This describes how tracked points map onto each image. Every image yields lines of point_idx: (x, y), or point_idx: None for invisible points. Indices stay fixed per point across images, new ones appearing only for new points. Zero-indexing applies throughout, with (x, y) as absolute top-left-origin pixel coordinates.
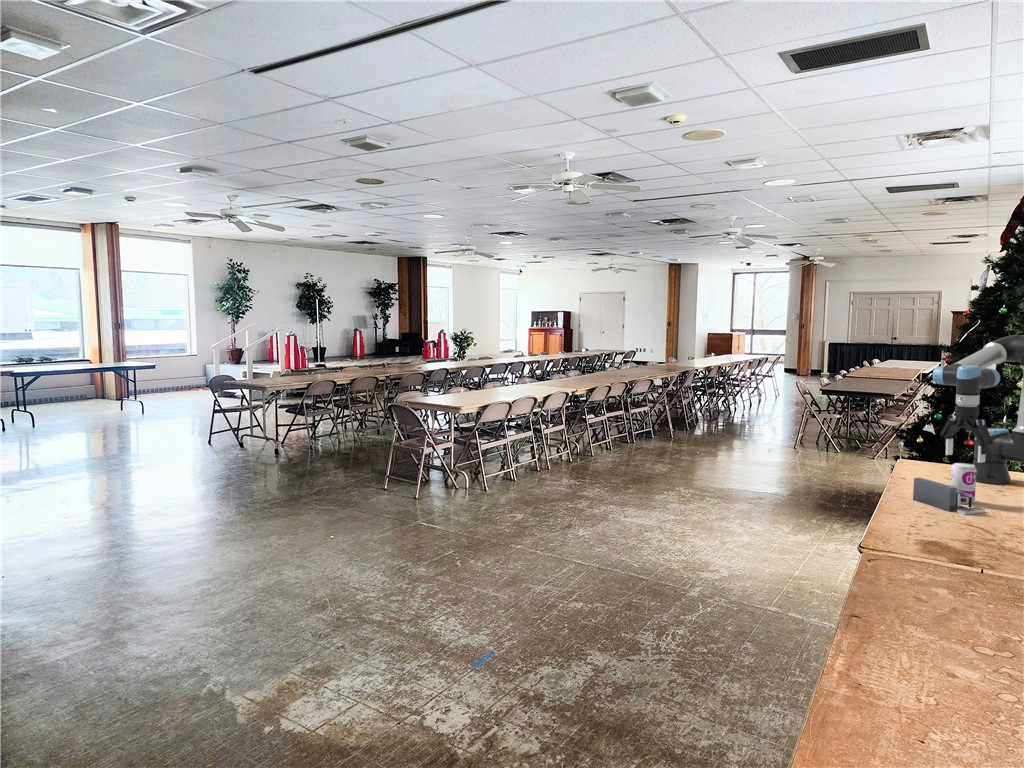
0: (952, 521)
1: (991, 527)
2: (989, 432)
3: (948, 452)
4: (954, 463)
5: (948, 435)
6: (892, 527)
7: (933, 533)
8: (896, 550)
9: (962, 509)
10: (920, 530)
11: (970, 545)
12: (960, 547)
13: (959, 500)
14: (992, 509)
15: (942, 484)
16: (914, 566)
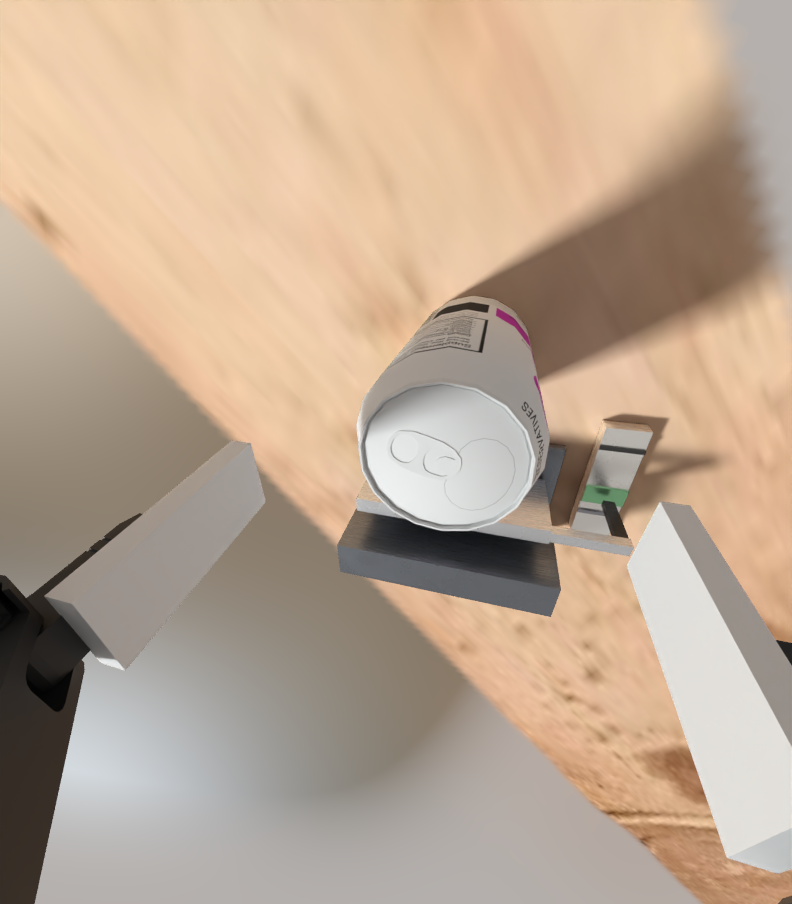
0: (618, 611)
1: (762, 586)
2: None
3: (246, 508)
4: (365, 472)
5: (59, 745)
6: (547, 722)
7: (642, 714)
8: (648, 806)
9: (583, 515)
10: (604, 711)
11: None
12: None
13: (547, 501)
14: (647, 339)
15: (481, 582)
16: (721, 844)
